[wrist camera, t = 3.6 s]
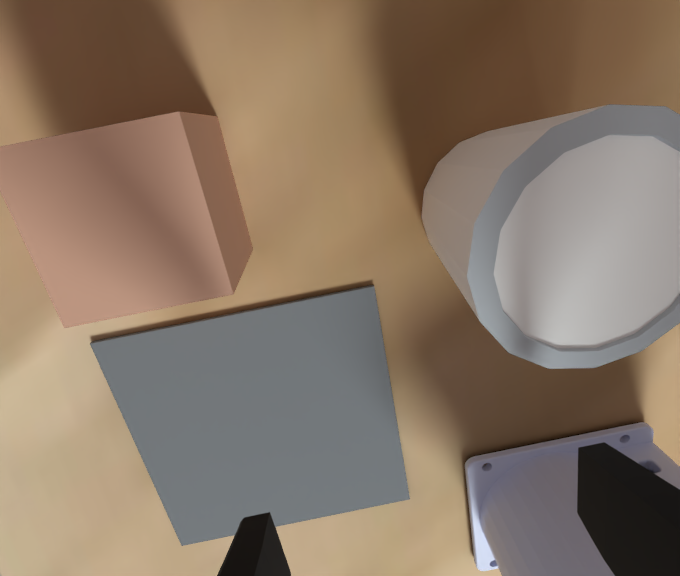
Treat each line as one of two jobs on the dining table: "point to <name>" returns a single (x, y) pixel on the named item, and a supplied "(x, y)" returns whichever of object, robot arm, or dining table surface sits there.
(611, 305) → the white cup
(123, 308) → the terracotta block
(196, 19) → the dining table surface
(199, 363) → the slate mat
